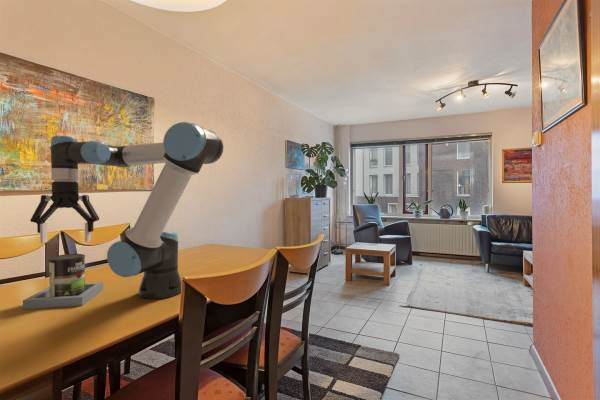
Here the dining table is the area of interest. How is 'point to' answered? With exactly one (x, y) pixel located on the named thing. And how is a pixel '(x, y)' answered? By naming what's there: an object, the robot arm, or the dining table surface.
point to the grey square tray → (62, 298)
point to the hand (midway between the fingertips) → (66, 241)
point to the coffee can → (66, 275)
